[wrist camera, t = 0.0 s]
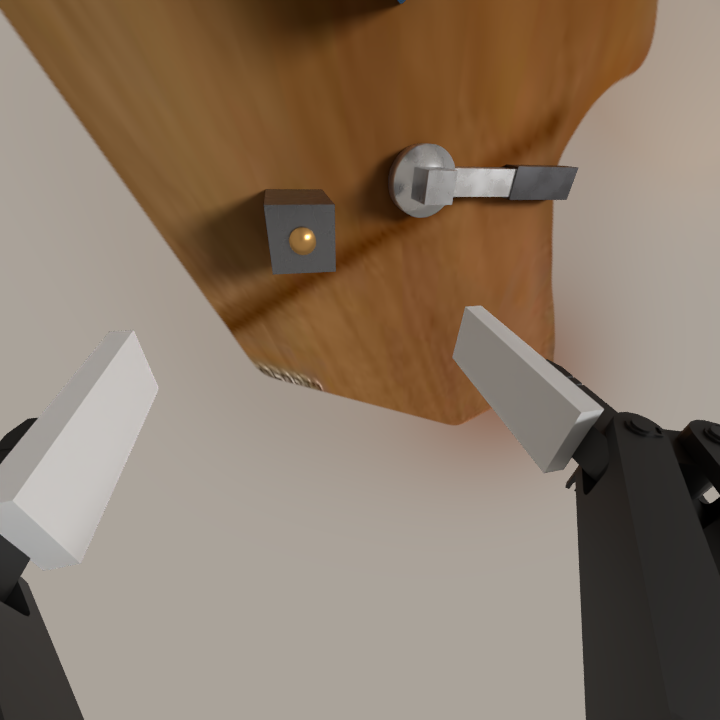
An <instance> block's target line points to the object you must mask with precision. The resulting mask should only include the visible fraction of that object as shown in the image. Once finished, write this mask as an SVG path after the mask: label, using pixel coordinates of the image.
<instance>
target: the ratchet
mask: <svg viewBox="0 0 720 720" xmlns="http://www.w3.org/2000/svg"><path fill="white" fill-rule="evenodd" d="M577 170H578V168H577V167H569V166H548V165H506V168H502V167H455V165H454V162H453V160H452V158H451V156H450V154H449V153H448V152H447V151H446V150H445V149H444V148H442V147H440V146H438V145H435V144H425V143H417V144H413V145H411V146H409V147H407V148H405V149H404V150H403V151H401V152H400V153H399V155H398V156H397V157H396V158H395V160H394V162H393V164H392V166H391V169H390V172H389V177H388V189H389V194H390V196H391V199H392V201H393V202H394V204H395V205H396V206H397V207H398V208H399V209H401V210H402V211H404V212H406V213H407V214H409V215H411V216H414V217H420V218H421V217H428V216H431V215H433V214H435V213H436V212H438V211H439V210H440V209H441V208H443V206H444V205H452V201H453V197H501V198H505V199H508V200H566V199H567V197H568V194H569V191H570V189H571V186H572V183H573V181H574V178H575V175H576V173H577Z"/></svg>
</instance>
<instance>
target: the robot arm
mask: <svg viewBox="0 0 720 720" xmlns="http://www.w3.org/2000/svg"><path fill="white" fill-rule="evenodd" d="M453 359H454V360H455V362H456V363H457V364H458V365H459V367H460V368H461V369H462V370H463V372H464V373H465V374H466V375H467V377H468V378H469V379H470V381H471V382H472V383H473V384H474V386H475V387H476V388H477V389H478V391H479V392H480V393H481V394H482V396H483V397H484V398H485V399H486V401H487V402H488V403H489V405H490V406H491V407H492V408H493V409H494V411H495V412H496V413H497V415H498V416H499V417H500V418H501V420H502V421H503V422H504V423H505V425H506V426H507V427H508V429H509V430H510V431H511V432H512V434H513V435H514V436H515V437H516V439H517V440H518V441H519V442H520V443H521V445H522V446H523V448H524V449H525V450H526V451H527V453H528V454H529V455H530V456H531V458H532V459H533V460H534V461H535V463H536V464H537V465H538V466H539V468H540V469H541V470H542V472H543V473H547V472H553V471H558V470H563V469H564V468H565V467H566V465H567V464H568V462H569V461H570V459H571V458H573V459H574V460H575V461H576V462H577V463H578V464H579V466H578V467H577V469H576V470H575V472H574V473H573V475H572V476H571V477H570V479H569V480H568V481H567V483H566V488H568V489H569V488H570V487H571V485H572V484H573V483H574V482H576V489H575V491H576V505H577V527H578V550H579V570H580V571H579V572H580V594H581V617H582V641H583V664H584V686H585V709H586V720H720V497H719V498H718V499H716V500H715V501H714V502H712V503H709V502H707V500H706V499H705V498H704V496H703V494H704V493H705V492H707V491H708V490H709V489H710V488H711V487H712V486H714V487H715V489H716V490H717V492H718V493H719V494H720V424H717V423H712V422H709V421H705V420H694V421H691V422H690V423H689V424H688V425H687V426H686V427H685V428H684V430H683V431H673V430H665V429H662V428H661V427H660V426H659V425H657V424H656V423H654V422H653V421H651V420H649V419H647V418H645V417H643V416H640V415H638V414H634V413H629V412H619V413H618V412H616V411H615V410H614V409H613V408H612V407H610V406H609V405H608V404H607V403H605V402H604V401H603V400H602V399H600V398H599V397H598V396H597V395H596V394H594V393H593V392H592V391H591V390H589V389H588V388H587V387H586V386H584V385H582V383H581V382H580V381H578V380H577V379H576V378H573V376H572V375H571V374H570V373H569V372H567V371H566V370H565V369H564V368H563V367H561V366H559V365H557V364H555V363H553V362H551V361H550V360H548V359H546V360H545V359H544V358H543V357H542V356H540V355H539V354H538V353H537V352H536V351H534V350H533V349H532V348H531V347H530V346H529V345H527V344H526V343H525V342H524V341H523V340H521V339H520V338H519V337H518V336H517V335H515V334H514V333H513V332H512V331H511V330H509V329H508V328H507V327H506V326H505V325H503V324H502V323H501V322H500V321H499V320H498V319H496V318H495V317H494V316H493V315H492V314H490V313H489V312H488V311H487V310H486V309H484V308H483V307H482V306H468V307H465V310H464V314H463V318H462V322H461V326H460V330H459V334H458V338H457V342H456V346H455V350H454V354H453ZM158 389H159V387H158V385H157V383H156V380H155V378H154V376H153V374H152V371H151V369H150V367H149V364H148V362H147V360H146V357H145V355H144V353H143V351H142V349H141V346H140V344H139V341H138V339H137V337H136V335H135V332H134V330H125V331H113V332H109V333H108V334H107V335H106V336H105V337H104V339H103V340H102V341H101V342H100V344H99V345H98V346H97V347H96V348H95V350H94V351H93V352H92V353H91V354H90V356H89V357H88V358H87V359H86V361H85V362H84V363H83V364H82V366H81V367H80V368H79V369H78V370H77V372H76V373H75V374H74V375H73V376H72V378H71V379H70V380H69V381H68V383H67V384H66V385H65V386H64V388H63V389H62V390H61V391H60V392H59V393H58V395H57V396H56V397H55V398H54V400H53V401H52V402H51V403H50V404H49V406H48V407H47V408H46V409H45V410H44V412H43V413H42V414H41V415H40V417H39V418H31V419H27V420H26V421H24V422H23V423H22V424H20V425H19V426H17V427H16V428H14V429H13V430H12V431H10V432H9V433H7V434H6V435H5V436H4V437H3V439H2V440H1V441H0V720H84V718H83V716H82V714H81V711H80V709H79V706H78V704H77V701H76V699H75V696H74V694H73V692H72V689H71V687H70V684H69V682H68V680H67V677H66V675H65V672H64V670H63V667H62V665H61V663H60V660H59V658H58V655H57V653H56V651H55V648H54V646H53V643H52V641H51V638H50V636H49V634H48V631H47V629H46V626H45V624H44V622H43V619H42V617H41V614H40V612H39V610H38V607H37V605H36V602H35V600H34V598H33V595H32V592H31V590H30V588H29V585H28V583H27V582H26V581H25V580H24V579H23V578H22V577H20V576H21V574H22V573H23V571H24V569H25V567H26V565H27V564H28V562H29V560H31V561H32V562H33V563H35V564H36V565H37V566H38V567H40V568H41V569H42V570H44V571H45V570H50V569H55V568H61V567H65V566H71V565H76V564H80V563H81V562H82V559H83V557H84V555H85V553H86V551H87V548H88V546H89V544H90V542H91V539H92V537H93V535H94V533H95V530H96V528H97V526H98V524H99V521H100V519H101V517H102V515H103V512H104V510H105V508H106V506H107V504H108V501H109V499H110V497H111V494H112V492H113V490H114V488H115V486H116V483H117V481H118V479H119V477H120V474H121V472H122V470H123V468H124V465H125V463H126V461H127V459H128V457H129V454H130V452H131V450H132V448H133V445H134V443H135V441H136V439H137V436H138V434H139V432H140V430H141V427H142V425H143V423H144V421H145V418H146V416H147V414H148V412H149V410H150V407H151V405H152V403H153V401H154V398H155V396H156V394H157V392H158Z"/></svg>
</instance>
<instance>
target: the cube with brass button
mask: <svg viewBox="0 0 720 720" xmlns="http://www.w3.org/2000/svg"><path fill="white" fill-rule="evenodd" d="M264 211H265V218H266V226H267V233H268V241H269V248H270V256H271V263H272V271H273V274H291V273H312V272H333V271H336V267H335V204H334V203H333V202H332V201H331V200H330V198H329V197H328V196H327V195H326V194H325V192H324V191H323V190H293V189H266V192H265V199H264Z"/></svg>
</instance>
